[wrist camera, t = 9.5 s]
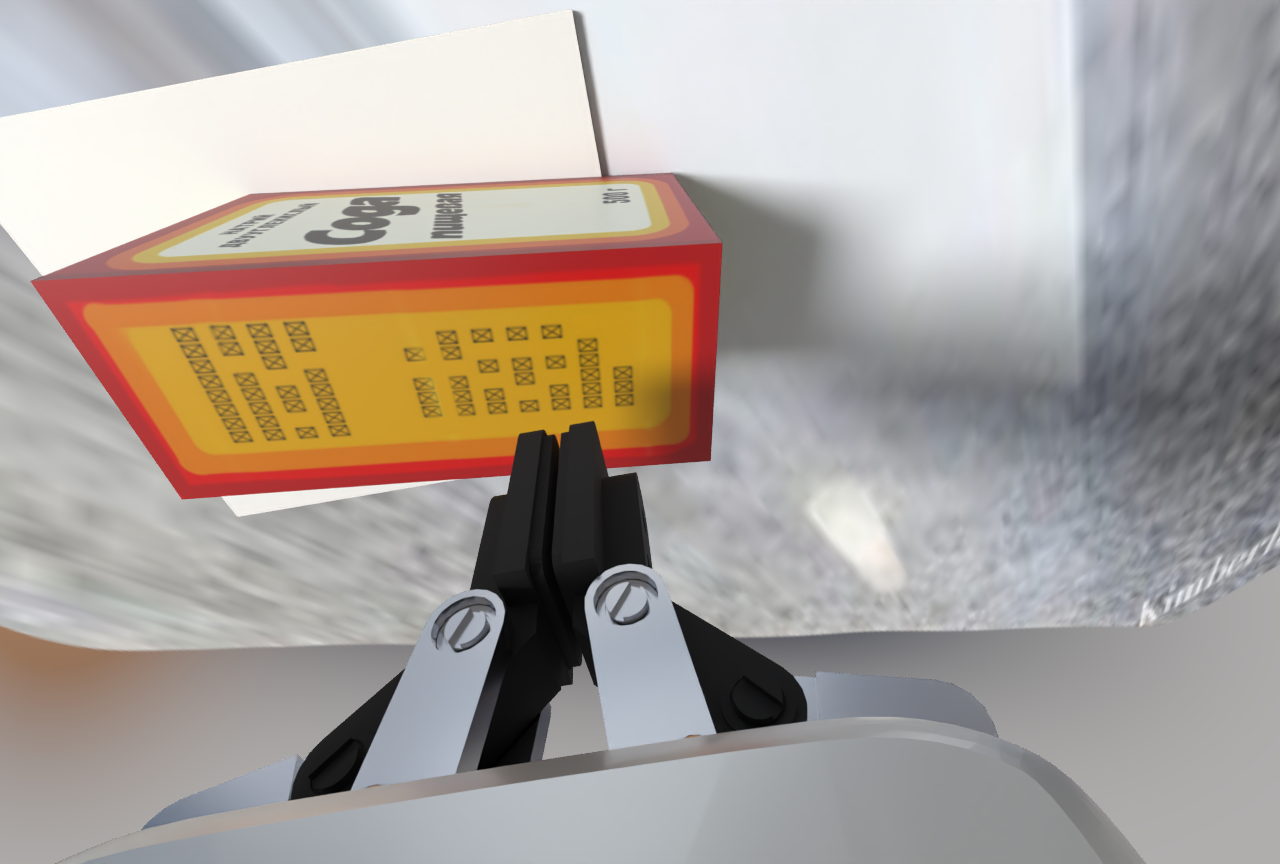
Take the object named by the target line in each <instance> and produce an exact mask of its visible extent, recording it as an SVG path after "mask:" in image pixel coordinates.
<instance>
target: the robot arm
mask: <svg viewBox="0 0 1280 864" xmlns="http://www.w3.org/2000/svg"><path fill="white" fill-rule="evenodd" d="M582 654H583V656H584V659H585V661H586V664H587V667H588V669H589V672H590V675H591V677H592V680H593V683H594V685H596V686H597V687H598V689H599V695H600V700H601V706H602V712H603V717H604V724H605V729H606V735H607V741H608V747H609V750H605V751H599V752H593V753H586V754H579V755H573V756H566V757H560V758H554V759H548V760H542V757H543V752H544V748H545V743H546V738H547V732H548V727H549V723H550V717H551V705H550V701H551V700H552V699H553V698H554V697H555V696H556V694H557V693H558V692H559V691H560V690H561V686H564V685H571V684H572V683H573V667H576V666H580V665H581V663H582ZM56 864H1146V863H1145V862H1144V860H1143V859H1142V858H1141V857H1140V855H1139V854H1138V853H1137V851H1136V850H1135V849H1134V848H1133V846H1131V844H1130V843H1129V841H1128V840H1127V839H1126V838H1125V836H1124V835H1123V834H1122V833H1121V832H1120V830H1119V829H1118V828H1117V827H1116V826H1115V825H1114V823H1113V822H1112V821H1111V820H1110V819H1109V818H1108V816H1107V815H1106V814H1105V813H1104V812H1103V811H1102V809H1101V808H1100V807H1099V806H1098V805H1097V804H1096V803H1095V802H1094V801H1093V800H1092V799H1091V798H1090V797H1089V796H1088V795H1087V794H1086V793H1085V792H1084V791H1083V790H1082V789H1081V788H1080V787H1079V786H1078V785H1077V784H1076V783H1075V782H1074V781H1073V780H1072V779H1071V778H1069V777H1068V776H1067V775H1066V774H1064V773H1063V772H1062V771H1060V770H1059V769H1058V768H1057V767H1056V766H1054V765H1053V764H1051V763H1050V762H1048V761H1047V760H1045V759H1043V758H1042V757H1040V756H1039V755H1037V754H1035V753H1033V752H1031V751H1028V750H1026V749H1024V748H1022V747H1020V746H1018V745H1016V744H1013V743H1011V742H1008V741H1005V740H1003V739H1000V738H999V737H998V734H997V731H996V729H995V726H994V723H993V721H992V719H991V718H990V716H989V714H988V713H987V710H986V709H985V707H984V706H983V705H982V704H981V703H980V702H979V701H978V700H977V699H976V698H975V697H974V696H973V695H972V694H971V693H969V692H967V691H965V690H964V689H962V688H960V687H958V686H956V685H954V684H952V683H948V682H943V681H939V680H932V679H916V678H902V677H887V676H871V675H857V674H843V673H828V672H815V677H803V676H793V675H791V674H790V673H789V672H787V671H786V670H785V669H784V668H783V667H781V666H780V665H778V664H776V663H775V662H773V661H771V660H770V659H768V658H766V657H765V656H763V655H761V654H760V653H758V652H756V651H755V650H753V649H751V648H750V647H748V646H746V645H745V644H743V643H741V642H740V641H738V640H736V639H734V638H733V637H731V636H729V635H728V634H726V633H724V632H723V631H721V630H719V629H718V628H716V627H714V626H713V625H711V624H709V623H708V622H706V621H704V620H703V619H701V618H699V617H698V616H696V615H694V614H693V613H691V612H689V611H688V610H686V609H684V608H683V607H681V606H679V605H677V604H676V603H674V602H672V601H671V599H670V596H669V593H668V590H667V587H666V584H665V583H664V581H663V579H662V577H661V576H660V575H659V574H658V573H657V572H655V571H654V570H653V569H652V562H651V554H650V546H649V538H648V530H647V523H646V517H645V511H644V505H643V500H642V495H641V490H640V485H639V481H638V476H637V473H636V472H635V473H629V474H624V475H618V476H612V477H609V476H608V472H607V468H606V464H605V460H604V456H603V452H602V448H601V444H600V440H599V436H598V432H597V428H596V424H595V422H594V421H589V422H584V423H578V424H572V425H570V426H569V432H564V433H561V440H560V447H559V444H558V441H557V438H556V436H555V434H552V435H547V433H546V431H545V430H544V429H543V430H538V431H532V432H526V433H520V434H519V436H518V440H517V445H516V451H515V456H514V461H513V466H512V472H511V477H510V482H509V487H508V492H507V494H506V495H500V496H494V497H493V498H492V499H491V501H490V504H489V508H488V513H487V517H486V522H485V526H484V530H483V535H482V539H481V544H480V548H479V553H478V557H477V561H476V566H475V570H474V575H473V579H472V584H471V588H470V590H469V591H464V592H462V593H459V594H457V595H455V596H452V597H451V598H449V599H448V600H446V601H445V602H444V603H442V604H441V605H440V606H439V607H438V608H437V609H436V610H435V611H434V612H433V613H432V614H431V616H430V618H429V619H428V621H427V622H426V624H425V626H424V628H423V630H422V633H421V635H420V637H419V639H418V642H417V644H416V646H415V648H414V651H413V653H412V655H411V657H410V659H409V662H408V664H407V666H406V668H405V669H404V670H403V671H401V672H400V673H399V674H398V675H397V676H396V677H395V678H393V679H392V680H391V681H390V682H389V683H388V684H386V685H385V686H384V687H383V688H382V689H381V690H380V691H378V692H377V693H376V694H375V695H374V696H373V697H371V698H370V699H369V700H368V701H367V702H366V703H365V704H363V705H362V706H361V707H360V708H359V709H358V710H356V711H355V712H354V713H353V714H352V715H351V716H349V717H348V718H347V719H346V720H345V721H344V722H343V723H341V724H340V725H339V726H338V727H337V728H336V729H335V730H333V731H332V732H331V733H330V734H329V735H328V736H326V737H325V738H324V739H323V740H322V741H321V742H320V743H319V744H318V745H317V746H316V747H315V748H314V749H313V750H312V752H310V753H309V755H308V756H307V757H306V758H304V759H302V758H301V757H300V756H299V755H294V756H291V757H289V758H286V759H284V760H281V761H278V762H276V763H273V764H271V765H268V766H266V767H263V768H260V769H258V770H255V771H253V772H250V773H248V774H245V775H242V776H240V777H237V778H234V779H232V780H229V781H227V782H224V783H222V784H219V785H217V786H214V787H211V788H209V789H206V790H203V791H201V792H198V793H196V794H193V795H191V796H188V797H185V798H183V799H181V800H179V801H177V802H175V803H173V804H171V805H170V806H168V807H166V808H164V809H163V810H162V811H161V812H159V813H158V814H157V815H156V816H155V817H153V818H152V819H151V820H150V821H149V822H147V824H146V825H145V826H144V827H143V828H142V829H141V831H138V832H135V833H131V834H128V835H125V836H122V837H119V838H115V839H112V840H110V841H107V842H105V843H102V844H100V845H97V846H95V847H92V848H90V849H87V850H85V851H83V852H80V853H78V854H75V855H73V856H71V857H68V858H66V859H63V860H61V861H59V862H58V863H56Z"/></svg>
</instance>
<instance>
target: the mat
mask: <svg viewBox="0 0 1280 864" xmlns="http://www.w3.org/2000/svg"><path fill="white" fill-rule="evenodd" d="M581 177H602V175H601V169H600V164H599V158H598V153H597V147H596V141H595V136H594V130H593V125H592V119H591V113H590V108H589V102H588V96H587V91H586V85H585V80H584V74H583V68H582V63H581V57H580V52H579V46H578V40H577V35H576V29H575V23H574V18H573V12H572V9H569V10H564V11H559V12H554V13H548V14H543V15H538V16H532V17H527V18H522V19H517V20H511V21H506V22H501V23H496V24H490V25H485V26H480V27H475V28H469V29H464V30H459V31H454V32H448V33H443V34H438V35H433V36H427V37H422V38H417V39H411V40H406V41H401V42H396V43H390V44H385V45H380V46H375V47H369V48H364V49H359V50H354V51H348V52H343V53H338V54H333V55H327V56H322V57H317V58H312V59H306V60H301V61H296V62H290V63H285V64H280V65H275V66H269V67H264V68H259V69H254V70H248V71H243V72H238V73H233V74H227V75H222V76H217V77H212V78H206V79H201V80H196V81H190V82H185V83H180V84H175V85H169V86H164V87H159V88H154V89H148V90H143V91H138V92H133V93H127V94H122V95H117V96H112V97H106V98H101V99H96V100H91V101H85V102H80V103H75V104H69V105H64V106H59V107H54V108H48V109H43V110H38V111H33V112H27V113H22V114H17V115H12V116H6V117H1V118H0V224H1V225H2V226H3V227H4V229H5V230H6V231H7V232H8V234H9V235H10V236H11V237H12V239H13V240H14V241H15V242H16V244H17V245H18V246H19V247H20V248H21V250H22V251H23V252H24V253H25V255H26V256H27V257H28V258H29V260H30V261H31V262H32V263H33V265H34V266H35V267H36V268H37V269H38V271H39V272H40V273H41V274H42V276H44V275H47V274H49V273H52V272H55V271H57V270H60V269H62V268H65V267H67V266H70V265H72V264H75V263H77V262H80V261H82V260H85V259H87V258H90V257H92V256H95V255H97V254H100V253H102V252H105V251H107V250H110V249H112V248H115V247H117V246H120V245H122V244H125V243H128V242H130V241H133V240H135V239H138V238H140V237H143V236H145V235H148V234H150V233H153V232H155V231H158V230H160V229H163V228H165V227H168V226H170V225H173V224H175V223H178V222H180V221H183V220H185V219H188V218H190V217H193V216H195V215H198V214H201V213H203V212H206V211H208V210H211V209H213V208H216V207H218V206H221V205H223V204H226V203H228V202H231V201H233V200H236V199H238V198H241V197H243V196H246V195H248V194H257V193H277V192H298V191H318V190H338V189H358V188H379V187H399V186H419V185H440V184H460V183H480V182H500V181H521V180H541V179H561V178H581ZM454 480H458V479H454ZM446 481H452V480H440V481H426V482H413V483H399V484H385V485H372V486H358V487H344V488H331V489H317V490H303V491H290V492H276V493H262V494H248V495H235V496H221V497H222V498H223V499H224V501H225V502H226V503H227V504H228V506H229V507H230V508H231V509H232V510H233V512H234V513H235V514H236V515H237V517H239V516H245V515H251V514H257V513H263V512H269V511H274V510H280V509H286V508H292V507H298V506H304V505H310V504H316V503H322V502H328V501H334V500H340V499H345V498H351V497H357V496H363V495H369V494H375V493H381V492H387V491H393V490H399V489H405V488H411V487H416V486H422V485H428V484H434V483H440V482H446Z"/></svg>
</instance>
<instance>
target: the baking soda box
mask: <svg viewBox="0 0 1280 864" xmlns="http://www.w3.org/2000/svg"><path fill="white" fill-rule="evenodd" d="M721 258H722V242H721V240H720V239H719V237H718V236H717V235H716V233H715V232H714V231H713V229H712V228H711V226H710V225H709V224H708V222H707V221H706V219H705V218H704V217H703V215H702V214H701V212H700V211H699V210H698V208H697V207H696V205H695V204H694V203H693V201H692V200H691V198H690V197H689V196H688V194H687V193H686V192H685V190H684V189H683V187H682V186H681V185H680V183H679V182H678V180H677V179H676V178H675V176H674V175H673V173H662V174H642V175H621V176H602V177H581V178H561V179H541V180H521V181H500V182H480V183H460V184H440V185H419V186H399V187H379V188H358V189H338V190H318V191H298V192H277V193H257V194H248V195H246V196H243V197H241V198H238V199H236V200H233V201H231V202H228V203H226V204H223V205H221V206H218V207H216V208H213V209H211V210H208V211H206V212H203V213H201V214H198V215H195V216H193V217H190V218H188V219H185V220H183V221H180V222H178V223H175V224H173V225H170V226H168V227H165V228H163V229H160V230H158V231H155V232H153V233H150V234H148V235H145V236H143V237H140V238H138V239H135V240H133V241H130V242H128V243H125V244H122V245H120V246H117V247H115V248H112V249H110V250H107V251H105V252H102V253H100V254H97V255H95V256H92V257H90V258H87V259H85V260H82V261H80V262H77V263H75V264H72V265H70V266H67V267H65V268H62V269H60V270H57V271H55V272H52V273H49V274H47V275H44V276H42V277H39V278H37V279H34V280H32V281H31V283H32V284H33V285H34V287H35V288H36V290H37V291H38V293H39V294H40V296H41V297H42V298H43V300H44V301H45V303H46V304H47V306H48V307H49V308H50V310H51V311H52V313H53V314H54V316H55V317H56V319H57V320H58V321H59V323H60V324H61V326H62V327H63V329H64V330H65V332H66V333H67V334H68V336H69V337H70V339H71V340H72V342H73V343H74V344H75V346H76V347H77V349H78V350H79V352H80V353H81V355H82V356H83V357H84V359H85V360H86V362H87V363H88V365H89V366H90V368H91V369H92V370H93V372H94V373H95V375H96V376H97V378H98V379H99V380H100V382H101V383H102V385H103V386H104V388H105V389H106V391H107V392H108V393H109V395H110V396H111V398H112V399H113V401H114V402H115V404H116V405H117V406H118V408H119V409H120V411H121V412H122V414H123V415H124V416H125V418H126V419H127V421H128V422H129V424H130V425H131V427H132V428H133V429H134V431H135V432H136V434H137V435H138V437H139V438H140V440H141V441H142V442H143V444H144V445H145V447H146V448H147V450H148V451H149V452H150V454H151V455H152V457H153V458H154V460H155V461H156V463H157V464H158V465H159V467H160V468H161V470H162V471H163V473H164V474H165V476H166V477H167V478H168V480H169V481H170V483H171V484H172V486H173V487H174V488H175V490H176V491H177V493H178V494H179V496H180V497H181V499H194V498H207V497H221V496H235V495H248V494H262V493H276V492H290V491H303V490H317V489H331V488H344V487H358V486H372V485H385V484H399V483H413V482H426V481H440V480H454V479H468V478H481V477H495V476H509V475H511V472H512V466H513V461H514V456H515V451H516V445H517V440H518V436H519V434H520V433H526V432H532V431H538V430H543V429H544V430H545V431H546V433H547V435H552V434H555V436H556V438H557V441H558V444H559V447H560V440H561V433H564V432H569V426H570V425H572V424H578V423H584V422H589V421H594V422H595V424H596V428H597V432H598V436H599V440H600V444H601V448H602V452H603V456H604V460H605V464H606V468H618V467H632V466H646V465H659V464H673V463H687V462H700V461H711V444H712V425H713V407H714V388H715V370H716V351H717V333H718V314H719V296H720V277H721Z"/></svg>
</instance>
